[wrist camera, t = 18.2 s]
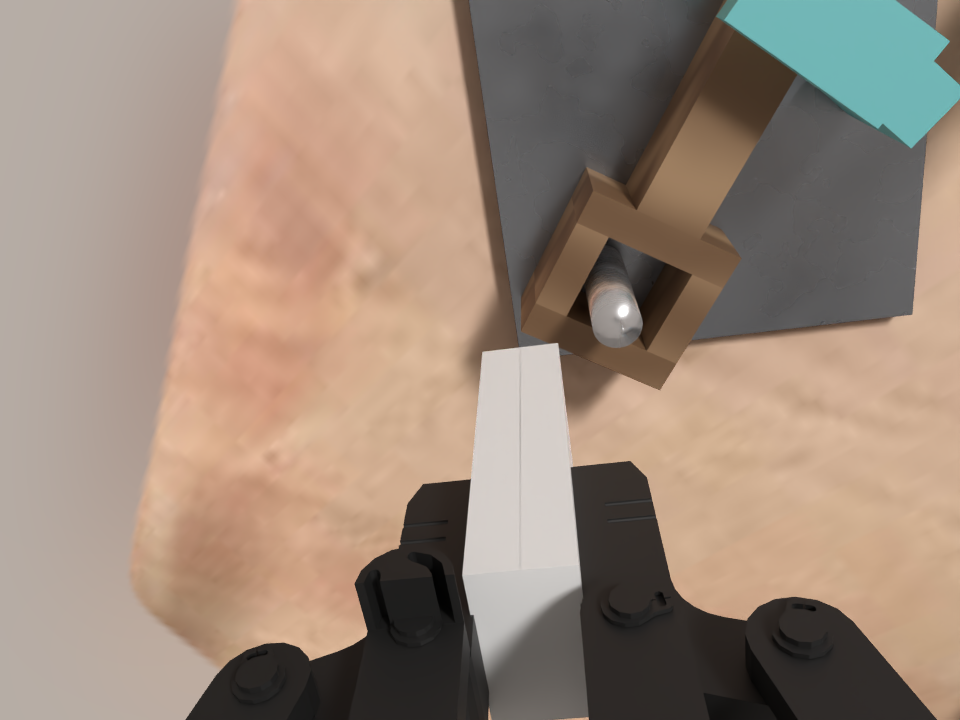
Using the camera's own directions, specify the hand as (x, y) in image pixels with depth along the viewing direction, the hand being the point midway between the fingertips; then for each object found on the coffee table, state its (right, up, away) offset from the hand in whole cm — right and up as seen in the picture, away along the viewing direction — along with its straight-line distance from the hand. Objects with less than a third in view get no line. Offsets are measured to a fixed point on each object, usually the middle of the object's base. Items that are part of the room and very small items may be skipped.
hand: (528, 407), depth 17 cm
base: (+9, +11, +21) cm, 26 cm away
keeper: (+12, +15, +19) cm, 27 cm away
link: (+8, +10, +21) cm, 24 cm away
